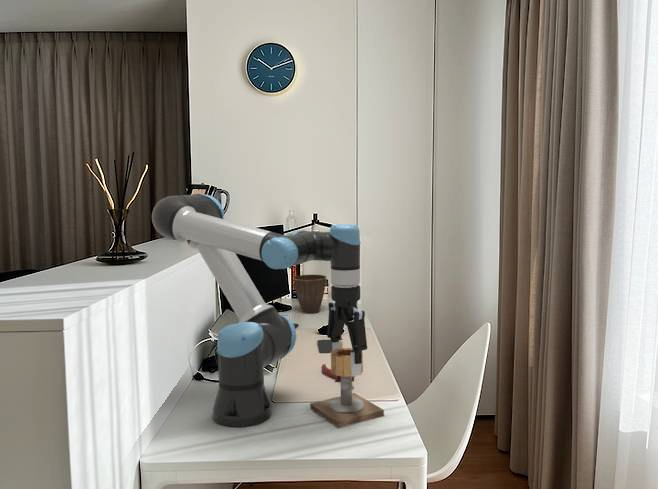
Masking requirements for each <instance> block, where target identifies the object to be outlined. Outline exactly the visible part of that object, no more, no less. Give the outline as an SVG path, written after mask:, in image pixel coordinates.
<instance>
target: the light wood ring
mask: <svg viewBox="0 0 658 489" xmlns="http://www.w3.org/2000/svg"><path fill="white" fill-rule="evenodd" d="M350 350H353V349H352V347H343V348H340V349H335V350H333V351H331V353H330V368H331V373H332V374H334V375H337V376H344V377H348V376H351V351H350ZM363 358H364V355H363V352H362V363H361V374H362V373H363V372H364V369H363V368H364V359H363Z"/></svg>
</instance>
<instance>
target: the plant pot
mask: <svg viewBox="0 0 658 489" xmlns="http://www.w3.org/2000/svg"><path fill="white" fill-rule="evenodd" d="M292 279H293V285H294V286H293V287H294V289H295V294H296V297H297V301H298V304H299V307H300V309H301V311H302V313H303V314H317V313H319V311H320V309H321V306H322V302H323V299H324V294H325V288H326V283H327V276H326V275H322V274H300V275H296V276H293V277H292Z"/></svg>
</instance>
